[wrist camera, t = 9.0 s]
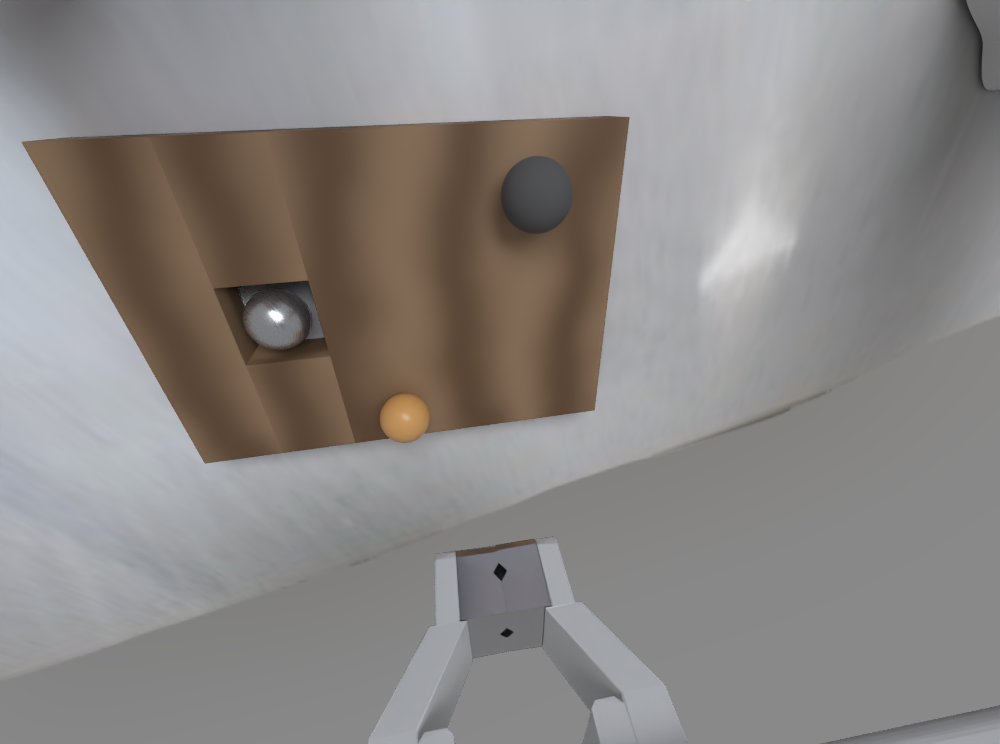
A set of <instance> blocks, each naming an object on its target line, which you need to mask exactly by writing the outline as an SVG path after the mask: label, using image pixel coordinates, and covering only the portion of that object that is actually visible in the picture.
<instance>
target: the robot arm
mask: <svg viewBox="0 0 1000 744" xmlns="http://www.w3.org/2000/svg"><path fill="white" fill-rule="evenodd" d="M966 1H967V4H968V8H969V10H970V13H971V15H972V17H973V19H974V21H975V23H976V25H977V27H978V29H979V31H980V33H981V36H982V40H983V51H982V81H983V85H984V87H985V88H986V89H987V90H999V89H1000V0H966ZM434 579H435V625H434V626H429V627H428V629H427V631H426V633H425V635H424V637H423V639H422V641H421V642H420V644H419V646H418V648H417V650H416V652H415V654H414V655H413V658H412V659H411V661H410V663H409V665H408V667H407V669H406V671H405V672H404V674H403V676H402V678H401V680H400V682H399V684H398V686H397V688H396V689H395V691H394V693H393V695H392V697H391V699H390V701H389V703H388V705H387V706H386V708H385V710H384V712H383V714H382V716H381V718H380V719H379V722H378V723H377V725H376V727H375V729H374V731H373V733H372V735H371V736H370V738H369V740H368V744H456V743H455V740H454V735H453V734H451V732H450V731H448V730H447V727H448V725H449V722H450V719H451V717H452V714H453V711H454V709H455V706H456V704H457V701H458V699H459V696H460V693H461V690H462V688H463V686H464V683H465V680H466V678H467V675H468V672H469V670H470V667H471V665H472V662H473V660H472V659H473V658H478V657H483V656H488V655H493V654H497V653H503V652H507V650H508V651H515V650H521V649H528V648H535V647H542V646H543V650H544V651H545V652H546V653H547V655H548V656H549V657H550V659H551V660H552V661H553V663H554V664H555V665H556V667H557V668H558V669H559V671H560V672H561V673H562V675H563V676H564V677H565V679H566V680H567V681H568V683H569V684H570V685H571V686H572V688H573V689H574V690H575V692H576V693H577V694H578V696H579V697H580V698H581V700H582V701H583V702H584V704H585V705H586V706H587V708H588V709H589V710H590V712H591V713H590V717H589V720H588V724H587V728H586V732H585V735H584V739H583V743H582V744H688V742H687V739H686V737H685V734H684V732H683V729H682V727H681V725H680V722H679V720H678V717H677V714H676V712H675V709H674V707H673V704H672V702H671V699H670V697H669V695H668V692H667V689H666V687H665V685H664V684H663V683H662V682H661V681H660V680H659V679H658V678H657V677H656V676H655V675H654V674H653V673H652V672H651V671H650V670H649V669H648V668H647V667H646V666H645V665H644V664H643V663H642V662H641V661H640V660H639V659H638V658H637V657H636V656H635V655H634V654H633V653H632V652H631V651H630V650H629V649H628V648H627V647H626V646H625V645H624V644H623V643H622V642H621V641H620V640H619V639H618V638H617V637H616V636H615V635H614V634H613V633H612V632H611V631H610V630H609V629H608V628H607V627H606V626H605V625H604V624H603V623H602V622H601V621H600V620H599V619H598V618H597V617H596V616H595V615H594V614H593V613H592V612H591V611H590V610H589V609H588V608H587V607H586V606H585V605H584V604H583V603H582V602H575V600H574V597H573V593H572V590H571V586H570V583H569V579H568V576H567V573H566V569H565V566H564V562H563V559H562V556H561V552H560V549H559V545H558V542H557V540H556V539H555V537H554V536H552V537H545V538H539V539H530V540H524V541H518V542H512V543H506V544H500V545H495V546H488V547H482V548H474V549H467V550H461V551H451V552H444V553H438V554H435V560H434ZM821 744H1000V705H999V706H994V707H990V708H985V709H980V710H976V711H971V712H966V713H962V714H957V715H953V716H948V717H943V718H938V719H934V720H929V721H925V722H919V723H915V724H911V725H905V726H901V727H896V728H891V729H887V730H882V731H878V732H873V733H868V734H863V735H859V736H854V737H850V738H845V739H840V740H835V741H831V742H826V743H821Z"/></svg>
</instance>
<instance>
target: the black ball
mask: <svg viewBox="0 0 1000 744" xmlns="http://www.w3.org/2000/svg"><path fill="white" fill-rule="evenodd" d="M572 199H573V188H572V183H571V180H570V177H569V175H568V173H567V172H566V170H565V169H564V168H563V167H562V166H561V165H560V164H559V163H558V162H556V161H555V160H553V159H551V158H548V157H544V156H532V157H528V158H525V159H523V160H521V161H520V162H518V163H517V164H515V165H514V166H513V167H512V168H511V169H510V171H509V172H508V173H507V175H506V177H505V179H504V182H503V185H502V189H501V203H502V208H503V211H504V213H505V215H506V217H507V218H508V220H509V221H510V222H511V223H512V224H513V225H514V226H515V227H516V228H518V229H519V230H521V231H524V232H527V233H532V234H540V233H545V232H548V231H550V230H552V229H554V228H556V227H557V226H558V225H559V224H560V223H561V222H562V221H563V220H564V219H565V217H566V216H567V214H568V212H569V210H570V208H571V204H572Z"/></svg>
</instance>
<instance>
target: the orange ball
mask: <svg viewBox="0 0 1000 744" xmlns="http://www.w3.org/2000/svg"><path fill="white" fill-rule="evenodd" d="M429 422H430V414H429V410H428V407H427V405H426V404H425V402H424V401H423V400H422V399H420V398H419V397H417V396H415V395H412V394H406V393H404V394H398V395H395V396H393V397H391V398H390V399H389V400H388V401H387V402H386V403H385V404H384V405H383V407H382V409H381V412H380V425H381V428H382V430H383V432H384V433H385V434H386V435H387V436H388V437H389V438H390V439H392V440H394V441H396V442H401V443H407V442H412V441H415V440H417V439H418V438H420V437H421V436H422V435H423V434H424V433H425V431H426V430H427V428H428V425H429Z"/></svg>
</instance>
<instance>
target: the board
mask: <svg viewBox="0 0 1000 744" xmlns="http://www.w3.org/2000/svg"><path fill="white" fill-rule="evenodd" d="M628 125H629V117H616V116H600V117H575V118H550V119H524V120H499V121H474V122H449V123H424V124H399V125H374V126H349V127H324V128H299V129H274V130H249V131H223V132H198V133H173V134H148V135H123V136H98V137H73V138H57V139H47V140H37V141H26V142H22V144H23V145H24V147H25V149H26V151H27V152H28V154H29V156H30V158H31V160H32V161H33V163H34V165H35V167H36V168H37V170H38V172H39V174H40V175H41V177H42V179H43V181H44V182H45V184H46V186H47V188H48V189H49V191H50V193H51V195H52V196H53V198H54V200H55V202H56V203H57V205H58V207H59V209H60V210H61V212H62V214H63V216H64V217H65V219H66V221H67V223H68V224H69V226H70V228H71V230H72V231H73V233H74V235H75V237H76V238H77V240H78V242H79V244H80V245H81V247H82V249H83V251H84V252H85V254H86V256H87V258H88V259H89V261H90V263H91V265H92V266H93V268H94V270H95V272H96V273H97V275H98V277H99V279H100V280H101V282H102V284H103V286H104V287H105V289H106V291H107V293H108V294H109V296H110V298H111V300H112V301H113V303H114V305H115V307H116V309H117V310H118V312H119V314H120V316H121V317H122V319H123V321H124V323H125V324H126V326H127V328H128V330H129V331H130V333H131V335H132V337H133V338H134V340H135V342H136V344H137V345H138V347H139V349H140V351H141V352H142V354H143V356H144V358H145V359H146V361H147V363H148V365H149V366H150V368H151V370H152V372H153V373H154V375H155V377H156V379H157V380H158V382H159V384H160V386H161V387H162V389H163V391H164V393H165V394H166V396H167V398H168V400H169V401H170V403H171V405H172V407H173V408H174V410H175V412H176V414H177V415H178V417H179V419H180V421H181V422H182V424H183V426H184V428H185V429H186V431H187V433H188V435H189V436H190V438H191V440H192V442H193V443H194V445H195V447H196V449H197V451H198V452H199V454H200V456H201V458H202V459H203V461H204V463H212V462H219V461H226V460H234V459H241V458H248V457H256V456H263V455H270V454H278V453H285V452H292V451H300V450H307V449H314V448H322V447H329V446H336V445H344V444H351V443H358V442H366V441H373V440H380V439H387V438H389V437H388V436H387V435H386V434H385V433H384V432H383V430H382V428H381V425H380V412H381V409H382V407H383V405H384V404H385V403H386V402H387V401H388V400H389V399H390V398H391V397H393V396H395V395H398V394H404V393H406V394H412V395H415V396H417V397H419V398H420V399H422V400H423V401H424V402H425V404H426V405H427V407H428V410H429V414H430V422H429V425H428V428H427V430H426V431H425V433H431V432H439V431H446V430H453V429H461V428H468V427H475V426H483V425H490V424H497V423H505V422H512V421H519V420H527V419H534V418H541V417H549V416H556V415H563V414H571V413H578V412H585V411H592V410H595V401H596V393H597V385H598V376H599V368H600V359H601V351H602V343H603V334H604V326H605V317H606V309H607V301H608V292H609V284H610V276H611V267H612V259H613V250H614V242H615V234H616V225H617V217H618V208H619V200H620V192H621V183H622V175H623V166H624V158H625V150H626V141H627V133H628ZM532 156H544V157H548V158H551V159H553V160H555V161H556V162H558V163H559V164H560V165H561V166H562V167H563V168H564V169H565V170H566V172H567V173H568V175H569V177H570V180H571V183H572V188H573V199H572V204H571V208H570V210H569V212H568V214H567V216H566V217H565V219H564V220H563V221H562V222H561V223H560V224H559V225H558V226H557V227H556V228H554V229H552V230H550V231H548V232H545V233H540V234H532V233H527V232H524V231H521V230H519V229H518V228H516V227H515V226H514V225H513V224H512V223H511V222H510V221H509V220H508V218H507V217H506V215H505V213H504V211H503V208H502V203H501V189H502V185H503V182H504V179H505V177H506V175H507V173H508V172H509V171H510V169H511V168H512V167H513V166H514V165H515V164H517V163H518V162H520V161H521V160H523V159H525V158H528V157H532ZM307 280H308V281H309V285H310V288H311V292H312V295H313V299H314V302H315V306H316V309H317V313H318V316H319V319H320V323H321V326H322V330H323V333H324V337H325V338H318V339H309V340H303V341H302V342H301V343H300V344H298V345H297V346H295V347H292V348H289V349H284V350H275V349H270V348H266V347H264V346H262V345H259V344H258V343H257V342H255V341H254V340H253V339H252V338H251V337H250V336H249V334H248V333H247V331H246V329H245V327H244V323H243V312H244V308H245V307H244V305H243V302H242V299H241V297H240V294H239V292H238V289H237V286H249V285H260V284H272V283H284V282H295V281H307Z"/></svg>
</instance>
